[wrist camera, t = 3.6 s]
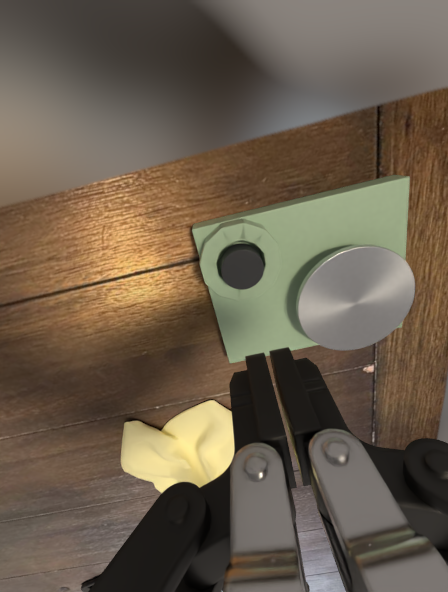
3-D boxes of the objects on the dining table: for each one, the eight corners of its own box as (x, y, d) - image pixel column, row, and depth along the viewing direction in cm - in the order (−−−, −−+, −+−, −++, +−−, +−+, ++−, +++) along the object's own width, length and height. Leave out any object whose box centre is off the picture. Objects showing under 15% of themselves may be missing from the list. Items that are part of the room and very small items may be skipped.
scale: (228, 351, 29) (230, 375, 26) (192, 223, 23) (190, 234, 20) (390, 316, 28) (413, 337, 25) (394, 174, 22) (425, 177, 19)
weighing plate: (302, 355, 25) (304, 360, 25) (289, 260, 21) (291, 262, 21) (407, 333, 25) (412, 337, 24) (414, 231, 21) (419, 233, 20)
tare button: (225, 285, 22) (226, 293, 21) (216, 248, 21) (216, 255, 20) (263, 276, 22) (267, 284, 21) (256, 238, 21) (260, 245, 19)
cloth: (89, 431, 33) (65, 486, 28) (240, 377, 31) (246, 426, 25) (180, 526, 42) (175, 581, 37) (301, 490, 40) (315, 545, 34)
